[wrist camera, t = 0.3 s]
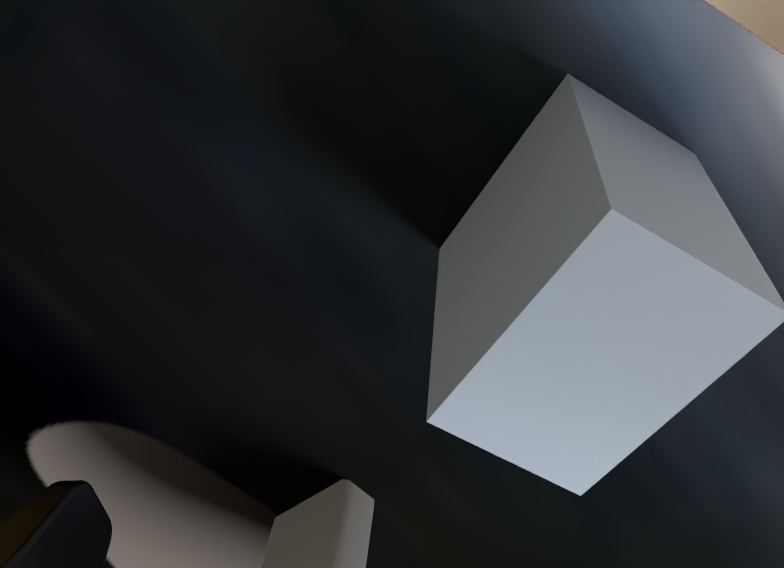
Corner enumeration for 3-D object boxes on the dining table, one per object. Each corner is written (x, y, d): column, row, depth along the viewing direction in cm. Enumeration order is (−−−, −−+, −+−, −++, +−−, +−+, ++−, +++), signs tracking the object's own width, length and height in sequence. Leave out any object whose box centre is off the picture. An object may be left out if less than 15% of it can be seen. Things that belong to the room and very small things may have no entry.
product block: (700, 156, 19) (799, 319, 13) (558, 312, 22) (588, 499, 16) (567, 73, 18) (611, 209, 12) (439, 248, 21) (426, 421, 15)
